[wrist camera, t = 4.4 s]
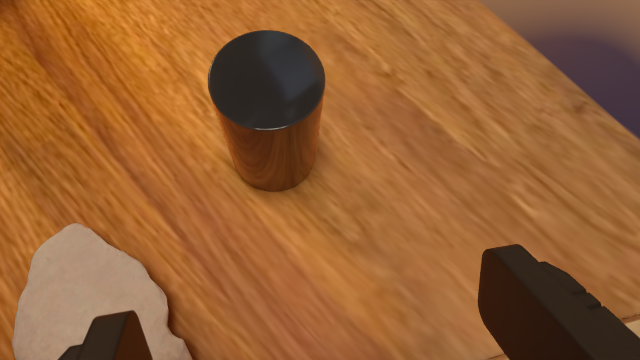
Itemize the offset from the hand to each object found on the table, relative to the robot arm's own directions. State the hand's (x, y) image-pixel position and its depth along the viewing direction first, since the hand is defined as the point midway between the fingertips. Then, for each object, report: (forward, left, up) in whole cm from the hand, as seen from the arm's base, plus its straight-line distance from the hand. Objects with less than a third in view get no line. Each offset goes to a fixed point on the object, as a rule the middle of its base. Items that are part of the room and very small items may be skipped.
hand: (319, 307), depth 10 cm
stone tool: (0, -9, -14) cm, 17 cm away
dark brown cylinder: (-10, +1, -14) cm, 17 cm away
